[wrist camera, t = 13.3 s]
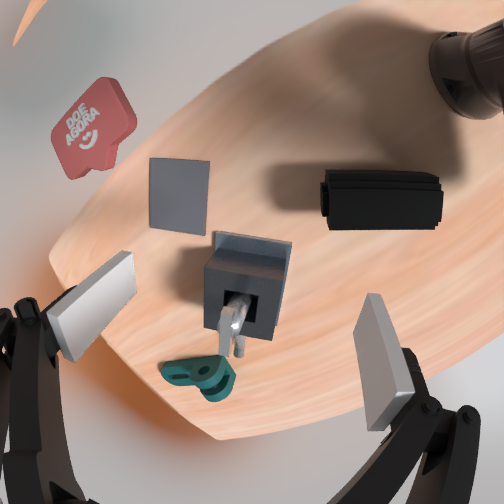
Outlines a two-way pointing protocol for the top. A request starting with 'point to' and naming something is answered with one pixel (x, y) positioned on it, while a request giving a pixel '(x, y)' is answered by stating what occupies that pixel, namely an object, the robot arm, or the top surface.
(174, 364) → the bracket
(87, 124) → the plaque
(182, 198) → the mat
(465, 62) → the robot arm
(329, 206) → the security camera
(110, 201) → the top surface
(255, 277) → the hollow square block
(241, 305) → the silver grey long piece
